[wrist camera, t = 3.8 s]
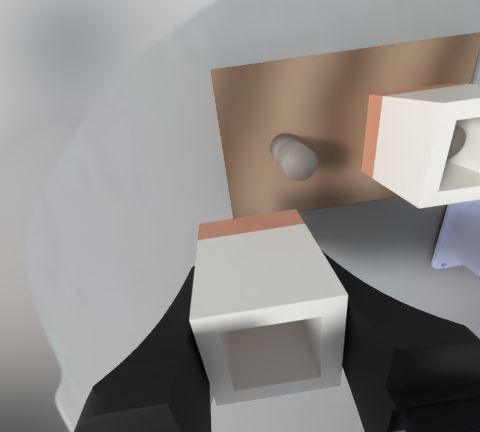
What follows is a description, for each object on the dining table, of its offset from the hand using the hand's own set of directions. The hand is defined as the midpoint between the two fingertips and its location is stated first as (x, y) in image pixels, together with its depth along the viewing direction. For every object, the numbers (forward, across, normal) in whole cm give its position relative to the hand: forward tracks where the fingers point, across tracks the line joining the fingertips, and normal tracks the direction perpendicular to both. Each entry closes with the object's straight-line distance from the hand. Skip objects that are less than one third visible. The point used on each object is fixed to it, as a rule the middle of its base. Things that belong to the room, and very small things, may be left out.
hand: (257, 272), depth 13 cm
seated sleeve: (+7, -11, -4) cm, 14 cm away
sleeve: (+1, 0, 0) cm, 1 cm away
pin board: (+8, -7, -4) cm, 12 cm away
